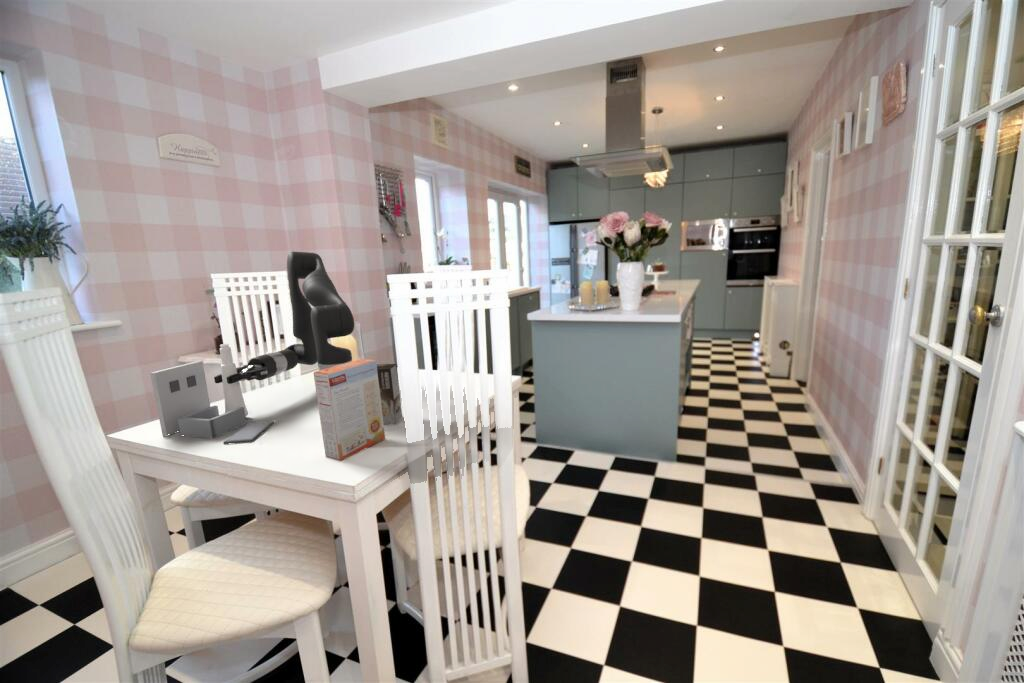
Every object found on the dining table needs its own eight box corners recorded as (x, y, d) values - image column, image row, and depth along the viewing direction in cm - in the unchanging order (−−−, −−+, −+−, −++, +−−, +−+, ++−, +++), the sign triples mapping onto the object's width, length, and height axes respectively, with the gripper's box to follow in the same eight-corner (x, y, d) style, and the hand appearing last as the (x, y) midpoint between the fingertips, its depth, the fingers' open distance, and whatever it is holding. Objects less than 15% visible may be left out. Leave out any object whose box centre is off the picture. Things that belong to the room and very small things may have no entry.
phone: (274, 424, 131) (274, 420, 131) (252, 444, 117) (251, 439, 117) (249, 426, 130) (249, 422, 130) (224, 446, 116) (223, 441, 116)
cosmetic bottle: (251, 412, 138) (240, 341, 134) (243, 418, 132) (230, 345, 128) (230, 413, 137) (218, 343, 133) (221, 420, 131) (207, 347, 127)
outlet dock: (252, 421, 133) (242, 361, 130) (209, 439, 120) (197, 374, 117) (208, 418, 138) (198, 360, 134) (162, 435, 124) (150, 372, 121)
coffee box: (403, 416, 131) (398, 363, 128) (397, 424, 125) (391, 368, 122) (372, 417, 131) (366, 364, 128) (364, 425, 125) (358, 369, 122)
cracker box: (369, 435, 118) (361, 357, 114) (386, 439, 114) (378, 359, 111) (323, 457, 106) (312, 370, 102) (340, 461, 103) (329, 373, 99)
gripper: (248, 354, 147) (200, 367, 131) (284, 354, 143) (239, 368, 127) (252, 376, 148) (204, 391, 132) (288, 377, 144) (243, 393, 128)
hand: (222, 380), depth 130 cm, fingers closed on cosmetic bottle, 4 cm apart
